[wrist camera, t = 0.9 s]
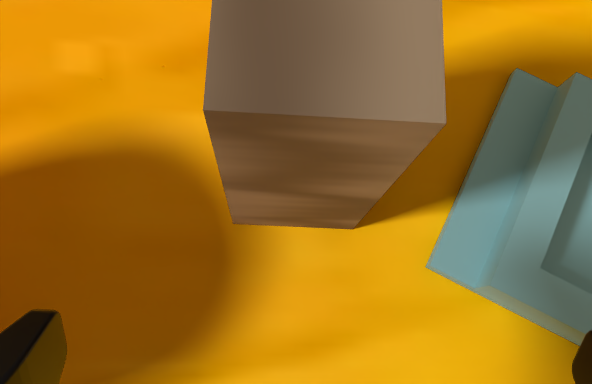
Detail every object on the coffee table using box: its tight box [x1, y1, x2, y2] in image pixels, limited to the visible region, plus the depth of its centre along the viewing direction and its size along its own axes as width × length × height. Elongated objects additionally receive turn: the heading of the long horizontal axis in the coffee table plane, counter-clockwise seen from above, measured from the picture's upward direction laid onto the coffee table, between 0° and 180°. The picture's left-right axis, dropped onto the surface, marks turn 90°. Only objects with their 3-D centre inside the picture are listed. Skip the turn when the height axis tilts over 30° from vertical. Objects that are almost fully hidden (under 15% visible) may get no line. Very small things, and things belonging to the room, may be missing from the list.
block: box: [203, 0, 446, 229], centre depth 18 cm, size 5×5×12 cm
